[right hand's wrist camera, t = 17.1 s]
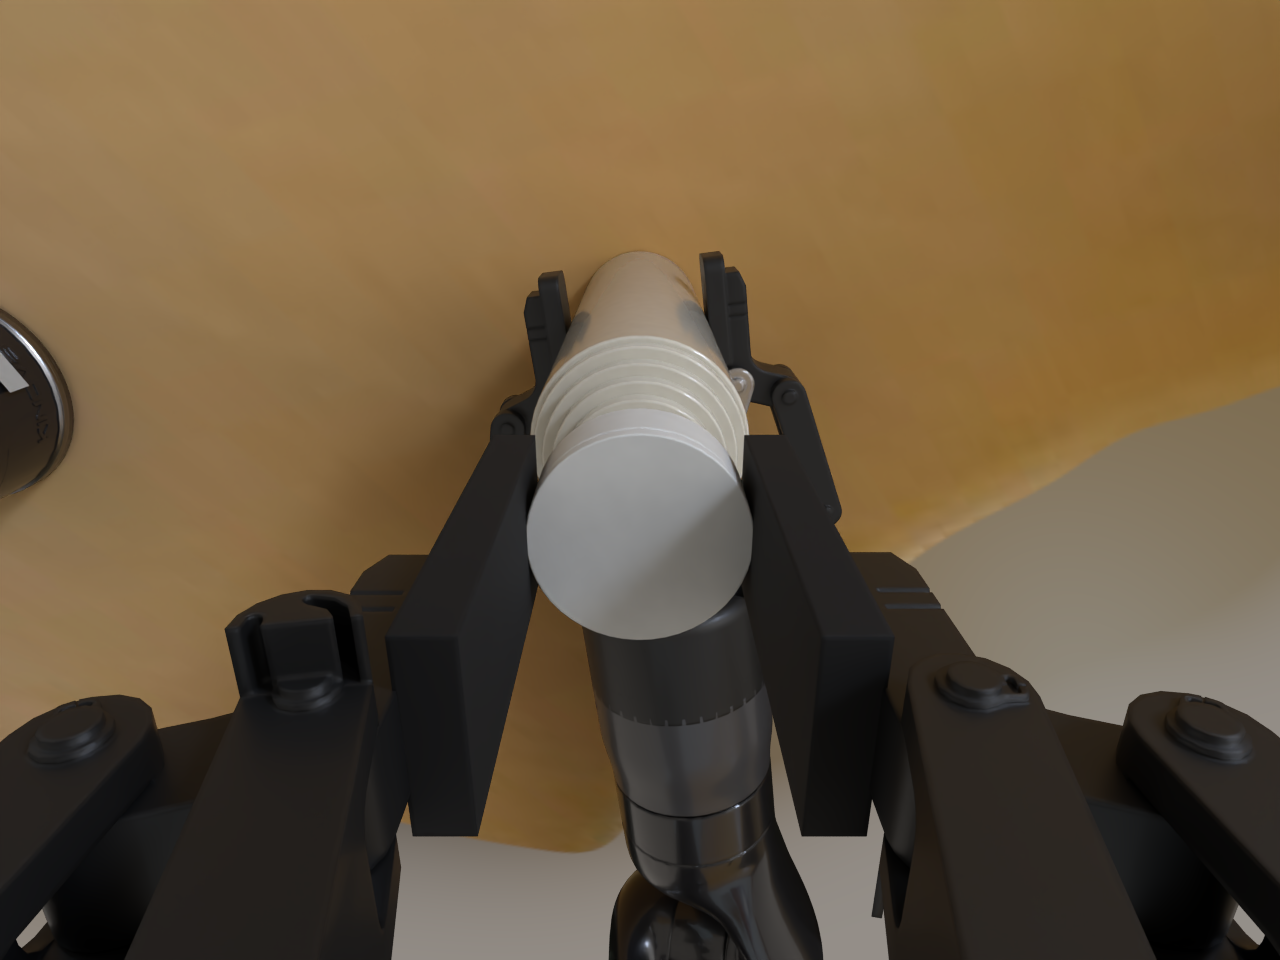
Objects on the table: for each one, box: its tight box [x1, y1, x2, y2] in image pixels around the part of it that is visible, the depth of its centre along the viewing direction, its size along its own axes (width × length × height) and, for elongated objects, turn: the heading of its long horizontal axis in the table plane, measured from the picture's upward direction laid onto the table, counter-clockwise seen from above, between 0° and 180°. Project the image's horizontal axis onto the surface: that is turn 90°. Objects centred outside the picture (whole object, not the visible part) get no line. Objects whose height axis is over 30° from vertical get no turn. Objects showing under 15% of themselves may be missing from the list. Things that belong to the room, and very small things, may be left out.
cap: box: [526, 408, 753, 640], centre depth 14 cm, size 4×4×2 cm
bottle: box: [530, 252, 749, 479], centre depth 24 cm, size 5×5×22 cm
